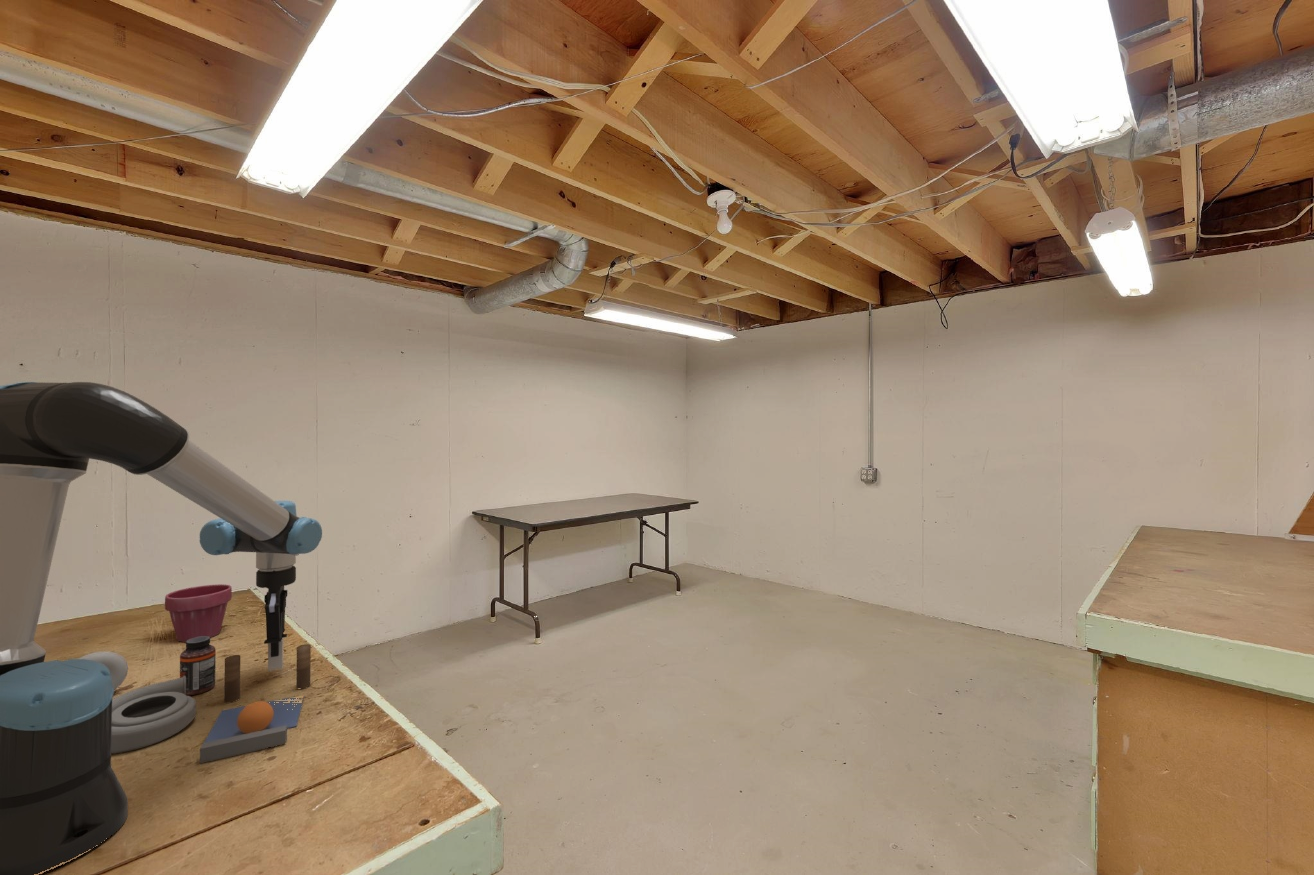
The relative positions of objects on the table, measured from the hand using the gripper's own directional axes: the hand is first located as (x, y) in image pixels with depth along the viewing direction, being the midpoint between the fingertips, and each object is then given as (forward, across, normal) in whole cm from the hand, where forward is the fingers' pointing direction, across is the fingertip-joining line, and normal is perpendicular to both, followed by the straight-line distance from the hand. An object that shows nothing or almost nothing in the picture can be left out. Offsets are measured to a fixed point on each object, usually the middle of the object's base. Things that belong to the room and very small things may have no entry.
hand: (275, 668), depth 122 cm
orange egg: (-1, -26, 0) cm, 27 cm away
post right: (+2, -9, -6) cm, 11 cm away
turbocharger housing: (+2, -16, +18) cm, 24 cm away
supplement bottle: (+2, 0, +14) cm, 14 cm away
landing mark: (+2, -21, 0) cm, 21 cm away
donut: (+2, +5, +32) cm, 32 cm away
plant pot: (+2, +41, +23) cm, 47 cm away
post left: (+2, -9, +6) cm, 11 cm away
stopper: (+2, -33, 0) cm, 33 cm away
